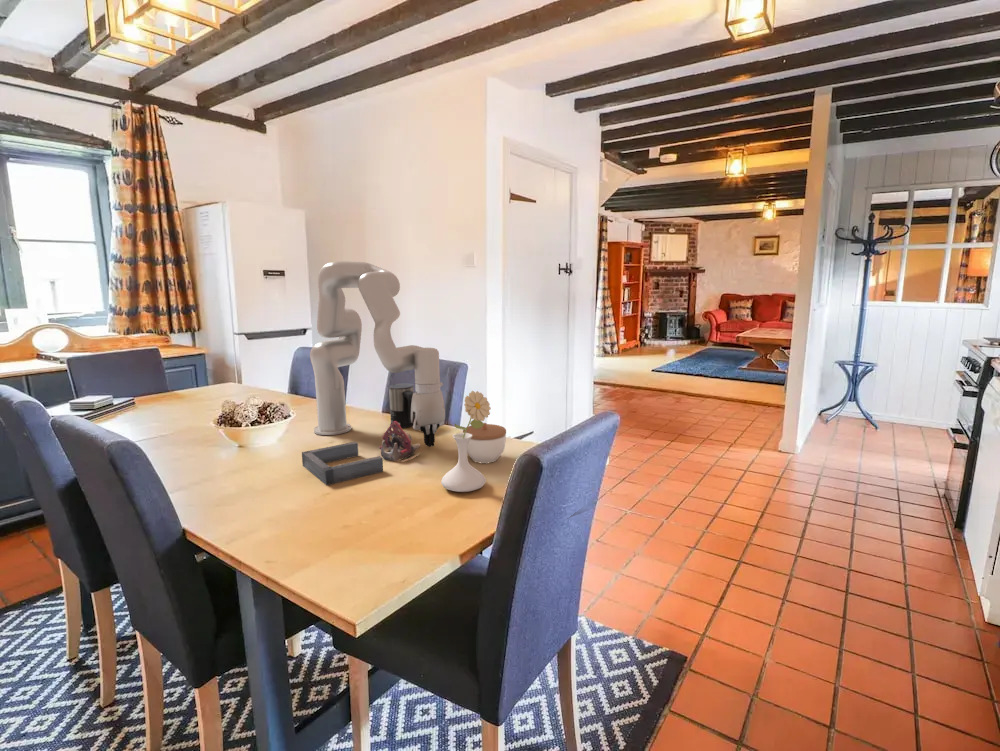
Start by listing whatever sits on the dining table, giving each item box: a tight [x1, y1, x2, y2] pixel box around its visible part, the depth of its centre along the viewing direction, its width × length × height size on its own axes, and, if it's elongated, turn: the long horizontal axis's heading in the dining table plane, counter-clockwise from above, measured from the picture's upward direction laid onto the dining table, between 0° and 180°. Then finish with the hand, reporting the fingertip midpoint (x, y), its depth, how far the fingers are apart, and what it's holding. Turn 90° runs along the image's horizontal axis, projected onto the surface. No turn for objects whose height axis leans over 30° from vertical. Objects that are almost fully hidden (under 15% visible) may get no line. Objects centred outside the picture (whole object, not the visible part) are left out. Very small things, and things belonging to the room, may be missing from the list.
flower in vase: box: [440, 390, 491, 493], centre depth 136 cm, size 13×11×25 cm
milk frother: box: [387, 382, 415, 429], centre depth 196 cm, size 14×16×15 cm
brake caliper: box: [378, 421, 421, 462], centre depth 162 cm, size 11×11×12 cm
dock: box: [301, 441, 384, 486], centre depth 152 cm, size 19×16×4 cm
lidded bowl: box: [462, 422, 507, 464], centre depth 158 cm, size 13×13×11 cm
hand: (429, 445), depth 169 cm, fingers closed
